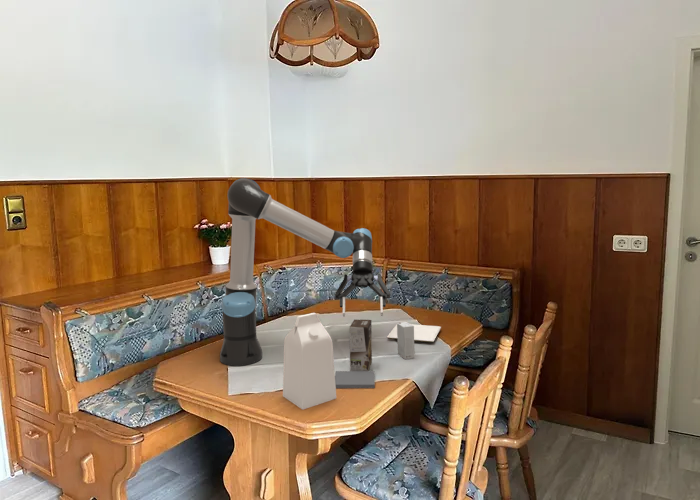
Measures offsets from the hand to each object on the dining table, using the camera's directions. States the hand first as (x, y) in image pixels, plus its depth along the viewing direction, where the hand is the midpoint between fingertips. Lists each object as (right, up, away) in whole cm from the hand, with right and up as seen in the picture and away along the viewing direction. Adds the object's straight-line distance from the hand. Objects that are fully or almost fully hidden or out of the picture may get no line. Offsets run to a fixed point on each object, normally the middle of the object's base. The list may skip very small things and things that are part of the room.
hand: (362, 314), depth 196 cm
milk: (-17, -22, -29) cm, 40 cm away
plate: (+22, -12, +26) cm, 36 cm away
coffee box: (-1, -18, -7) cm, 19 cm away
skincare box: (+16, -16, +3) cm, 23 cm away
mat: (-3, -19, -18) cm, 27 cm away
